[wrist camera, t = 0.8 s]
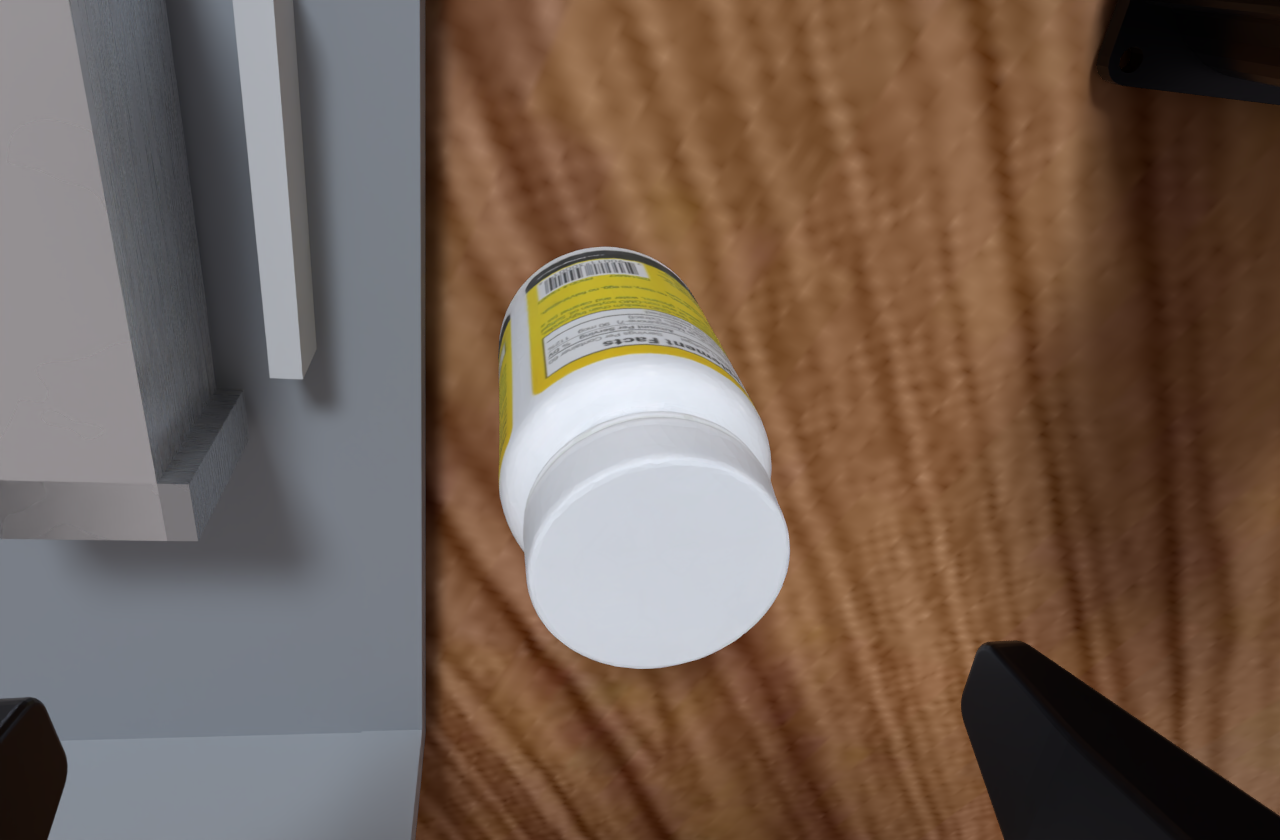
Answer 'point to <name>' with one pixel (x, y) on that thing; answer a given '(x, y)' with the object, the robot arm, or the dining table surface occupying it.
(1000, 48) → the dining table surface
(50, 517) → the pale grey box
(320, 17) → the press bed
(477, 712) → the dining table surface
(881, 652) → the dining table surface
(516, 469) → the supplement bottle
